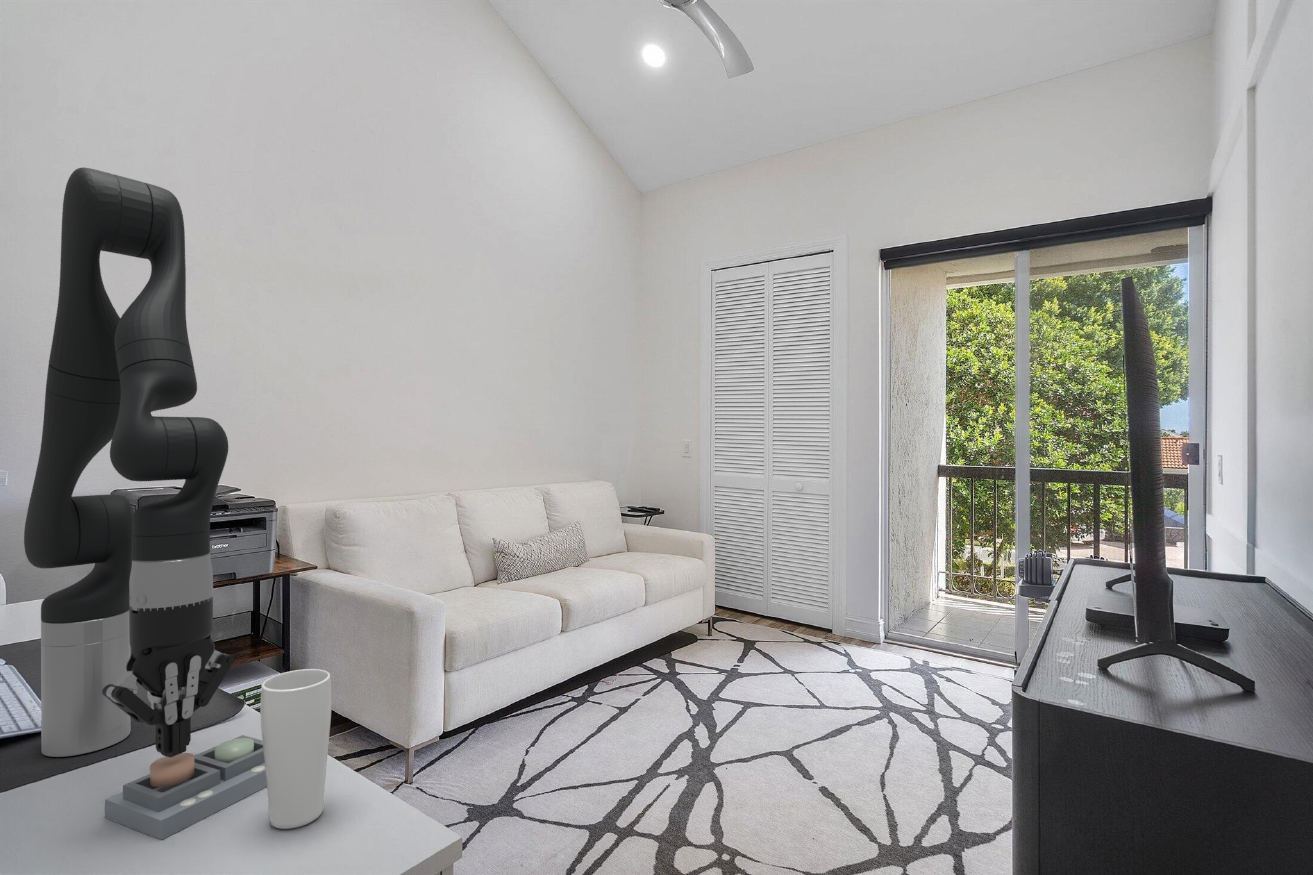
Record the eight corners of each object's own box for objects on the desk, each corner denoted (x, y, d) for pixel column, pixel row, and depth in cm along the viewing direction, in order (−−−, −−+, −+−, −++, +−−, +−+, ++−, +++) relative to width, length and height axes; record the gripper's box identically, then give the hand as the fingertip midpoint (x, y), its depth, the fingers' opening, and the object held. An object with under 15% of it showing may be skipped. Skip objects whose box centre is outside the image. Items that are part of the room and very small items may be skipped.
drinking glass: (302, 839, 69) (301, 693, 69) (245, 831, 70) (244, 688, 70) (345, 804, 76) (344, 670, 76) (292, 797, 77) (292, 666, 77)
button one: (206, 764, 80) (206, 749, 80) (239, 750, 84) (239, 735, 84) (228, 771, 78) (228, 755, 78) (261, 756, 82) (261, 741, 82)
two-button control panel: (104, 817, 73) (104, 785, 73) (239, 757, 87) (239, 730, 87) (161, 839, 69) (161, 805, 69) (293, 772, 83) (293, 744, 83)
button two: (141, 782, 74) (141, 765, 74) (180, 765, 77) (180, 750, 77) (164, 790, 72) (164, 773, 72) (202, 773, 76) (202, 756, 76)
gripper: (211, 582, 82) (211, 724, 82) (82, 607, 70) (83, 774, 70) (252, 587, 79) (253, 735, 79) (125, 614, 67) (126, 789, 67)
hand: (173, 753), depth 75 cm, fingers closed
